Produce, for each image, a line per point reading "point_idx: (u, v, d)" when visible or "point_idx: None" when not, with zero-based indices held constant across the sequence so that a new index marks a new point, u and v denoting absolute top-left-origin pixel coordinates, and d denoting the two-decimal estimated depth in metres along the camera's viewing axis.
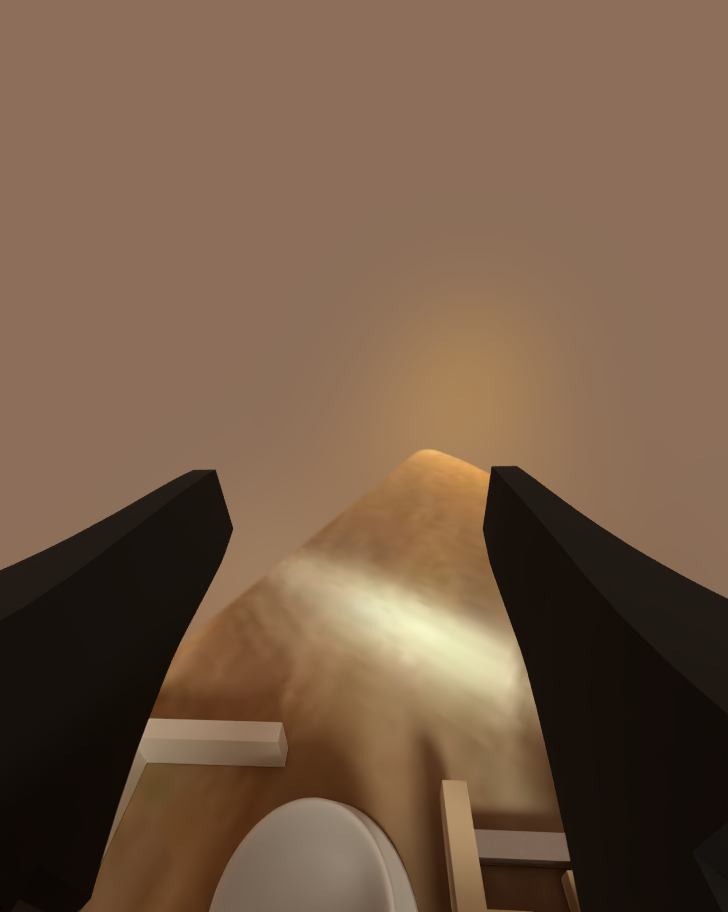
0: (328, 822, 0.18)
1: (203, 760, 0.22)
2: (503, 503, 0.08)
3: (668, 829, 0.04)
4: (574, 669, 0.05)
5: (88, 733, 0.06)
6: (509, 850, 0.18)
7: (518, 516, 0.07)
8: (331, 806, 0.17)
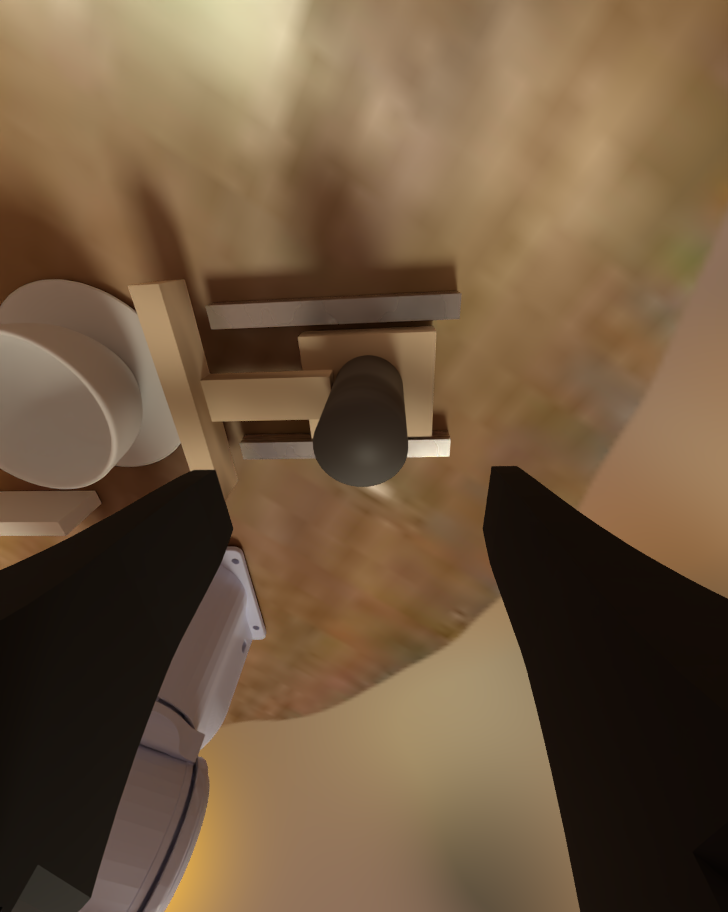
0: None
1: None
2: (503, 503, 0.08)
3: (668, 829, 0.04)
4: (574, 669, 0.05)
5: (88, 733, 0.06)
6: (244, 321, 0.16)
7: (518, 516, 0.07)
8: (2, 333, 0.14)
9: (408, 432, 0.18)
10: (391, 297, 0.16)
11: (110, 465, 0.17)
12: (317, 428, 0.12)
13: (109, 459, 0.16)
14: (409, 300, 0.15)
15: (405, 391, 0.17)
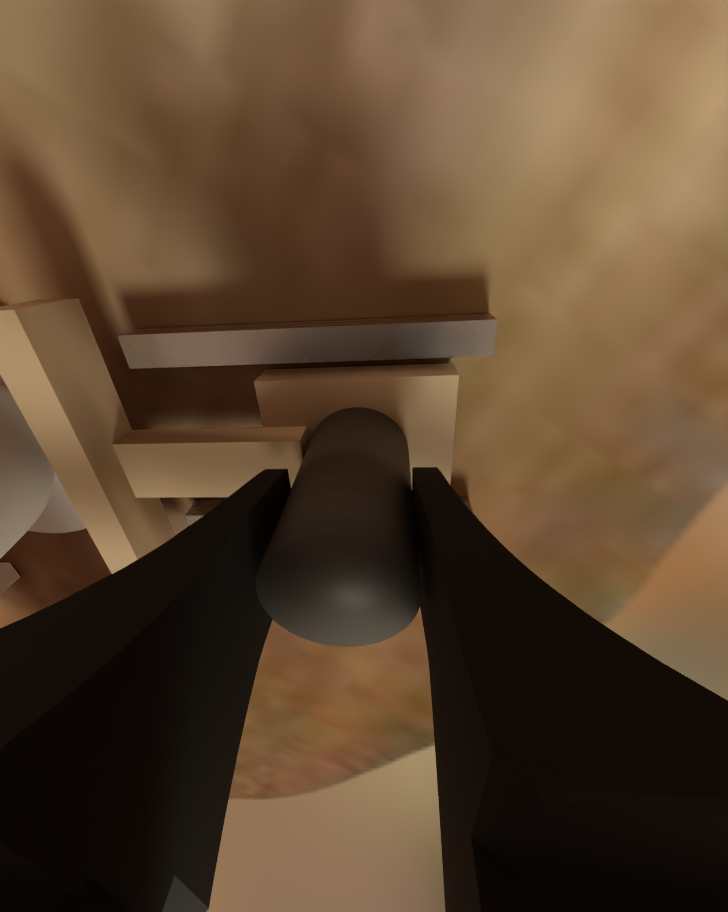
0: None
1: None
2: (415, 503, 0.08)
3: (465, 816, 0.04)
4: (440, 665, 0.06)
5: (206, 739, 0.06)
6: (176, 358, 0.11)
7: (421, 516, 0.08)
8: None
9: None
10: (391, 324, 0.10)
11: None
12: (262, 568, 0.07)
13: None
14: (418, 328, 0.10)
15: (411, 456, 0.12)
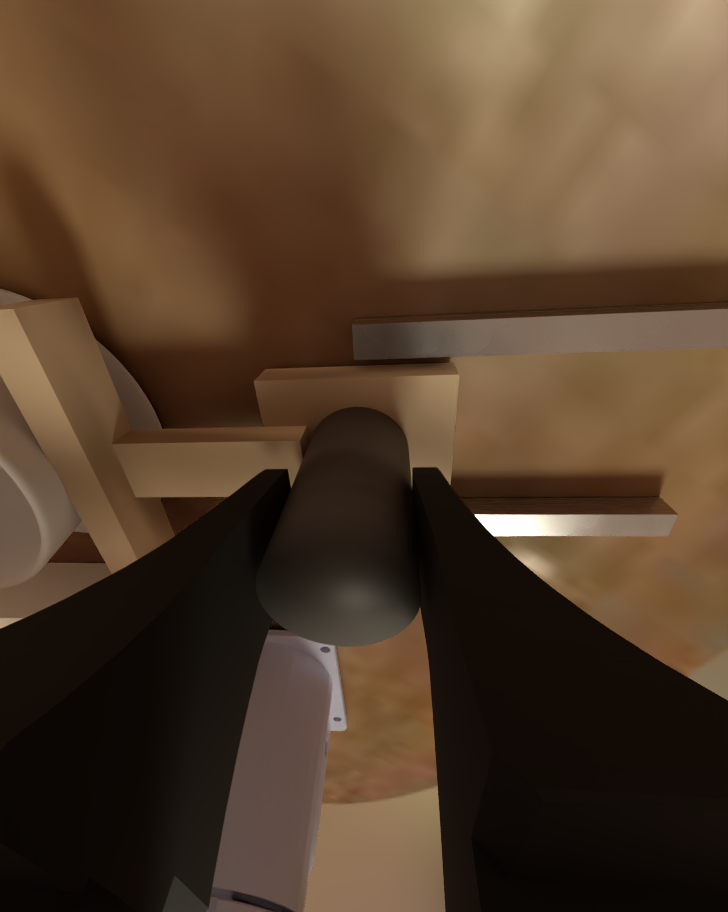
0: None
1: None
2: (415, 503, 0.08)
3: (465, 816, 0.04)
4: (440, 665, 0.06)
5: (205, 739, 0.06)
6: (409, 348, 0.11)
7: (421, 516, 0.08)
8: None
9: None
10: (656, 312, 0.10)
11: (44, 556, 0.11)
12: (261, 568, 0.07)
13: (41, 548, 0.11)
14: (686, 316, 0.10)
15: (412, 455, 0.12)
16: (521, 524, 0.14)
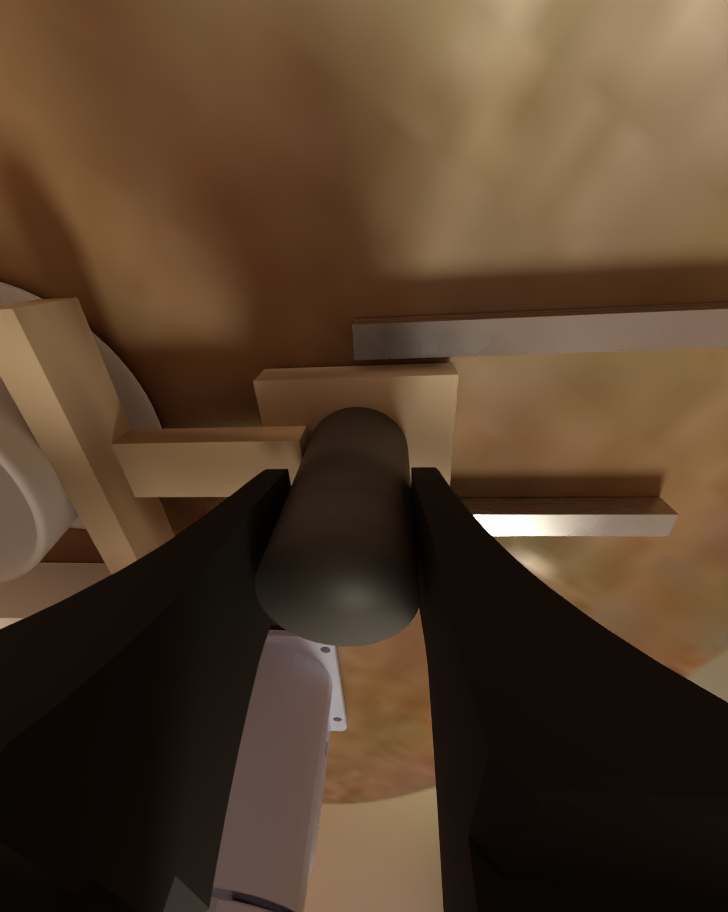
0: None
1: None
2: (414, 503, 0.08)
3: (462, 816, 0.04)
4: (438, 665, 0.06)
5: (206, 739, 0.06)
6: (409, 348, 0.11)
7: (419, 516, 0.08)
8: None
9: None
10: (657, 312, 0.10)
11: (40, 550, 0.11)
12: (261, 568, 0.07)
13: (37, 542, 0.11)
14: (686, 316, 0.10)
15: (411, 455, 0.12)
16: (521, 524, 0.14)
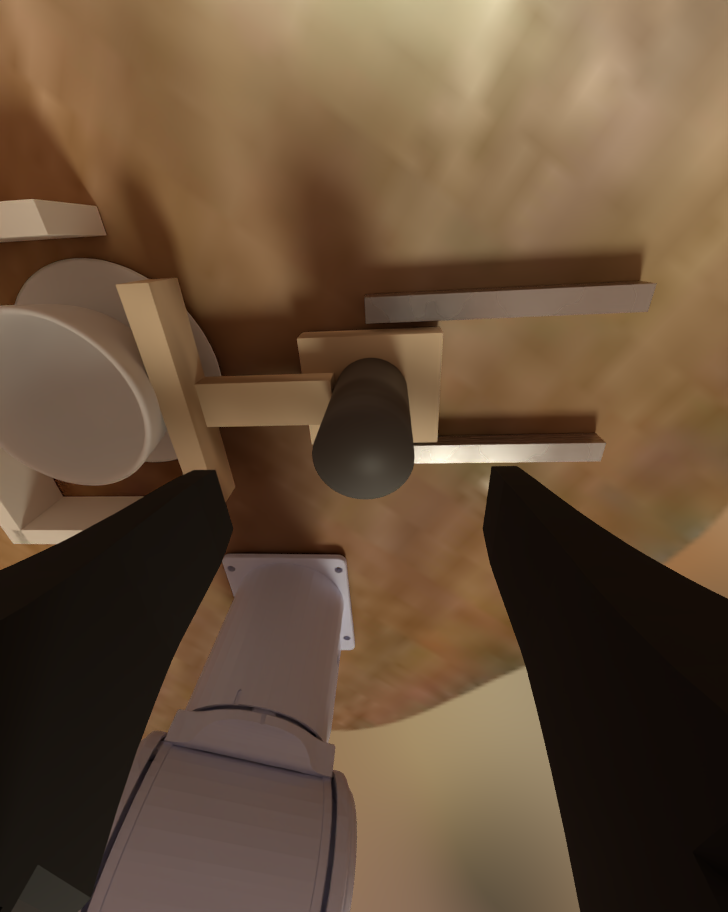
0: None
1: None
2: (503, 503, 0.08)
3: (668, 829, 0.04)
4: (574, 669, 0.05)
5: (88, 733, 0.06)
6: (405, 314, 0.15)
7: (518, 516, 0.07)
8: (22, 313, 0.13)
9: (412, 438, 0.17)
10: (575, 288, 0.14)
11: (145, 455, 0.15)
12: (317, 438, 0.11)
13: (143, 448, 0.15)
14: (596, 290, 0.14)
15: (410, 395, 0.16)
16: (490, 453, 0.18)
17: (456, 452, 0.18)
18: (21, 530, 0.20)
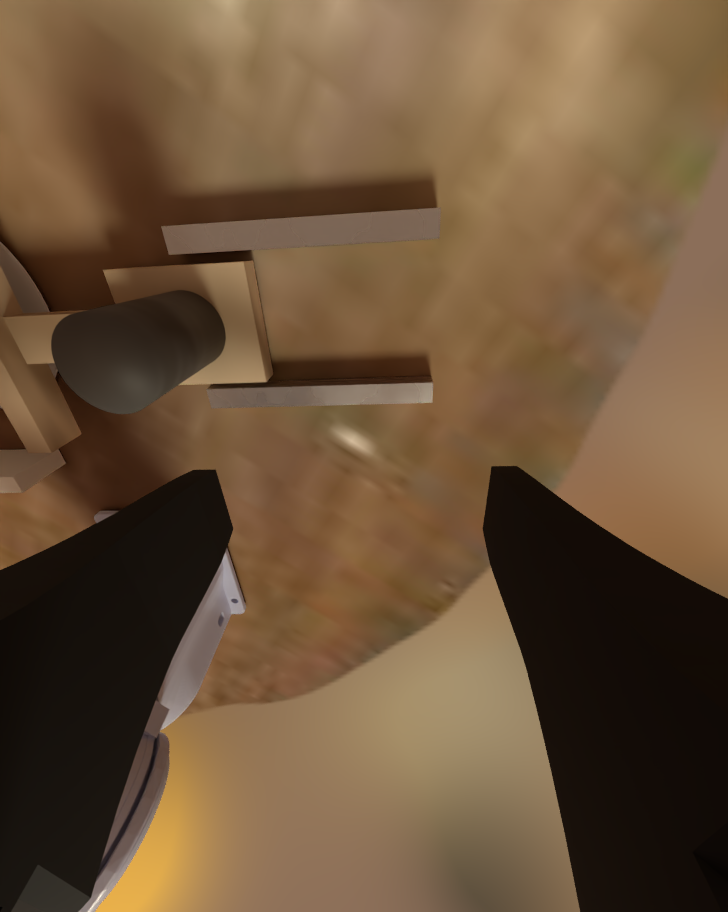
0: None
1: None
2: (503, 503, 0.08)
3: (668, 829, 0.04)
4: (574, 669, 0.05)
5: (88, 733, 0.06)
6: (204, 244, 0.15)
7: (518, 516, 0.07)
8: None
9: (241, 378, 0.17)
10: (364, 213, 0.14)
11: None
12: (53, 344, 0.11)
13: None
14: (383, 216, 0.14)
15: (227, 331, 0.16)
16: (323, 395, 0.18)
17: (289, 394, 0.18)
18: None
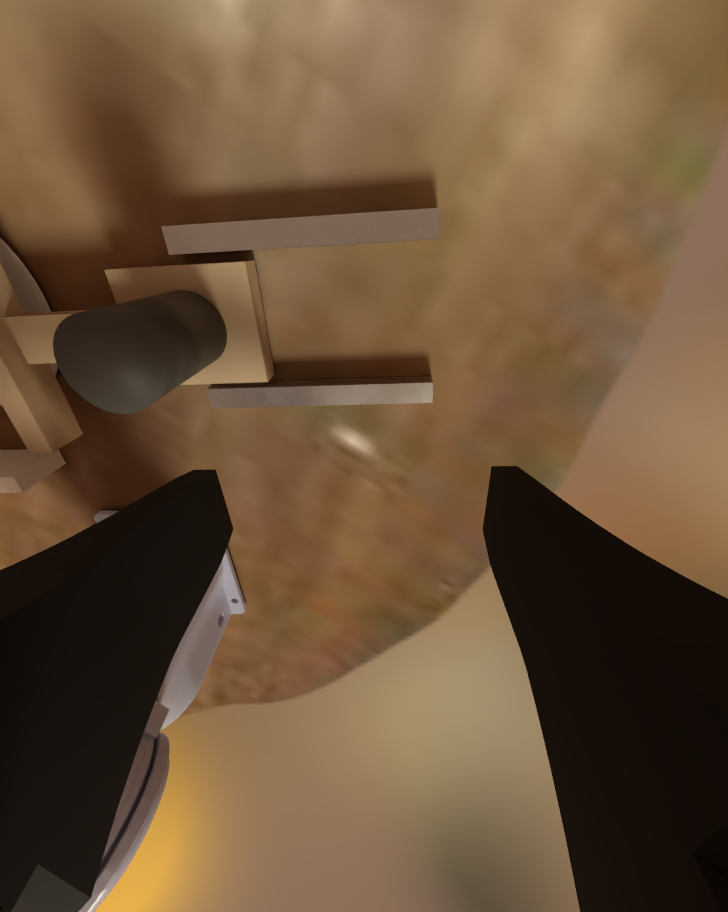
0: None
1: None
2: (503, 503, 0.08)
3: (668, 829, 0.04)
4: (574, 669, 0.05)
5: (88, 733, 0.06)
6: (204, 244, 0.15)
7: (518, 516, 0.07)
8: None
9: (243, 378, 0.17)
10: (364, 213, 0.14)
11: None
12: (54, 344, 0.11)
13: None
14: (383, 216, 0.14)
15: (229, 331, 0.16)
16: (323, 395, 0.18)
17: (289, 394, 0.18)
18: None
